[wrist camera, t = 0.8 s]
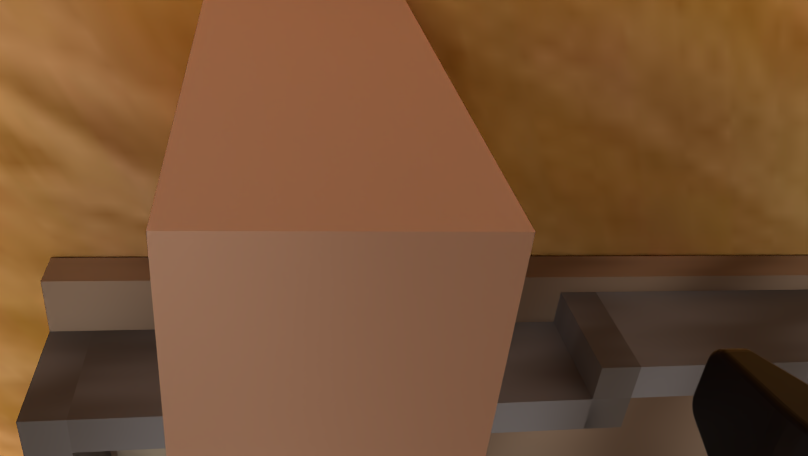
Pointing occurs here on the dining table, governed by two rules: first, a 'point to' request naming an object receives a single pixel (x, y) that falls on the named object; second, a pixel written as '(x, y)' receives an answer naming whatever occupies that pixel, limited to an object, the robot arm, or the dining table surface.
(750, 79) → the dining table surface
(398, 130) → the peg
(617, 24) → the dining table surface
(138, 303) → the keyhole board
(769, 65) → the dining table surface
